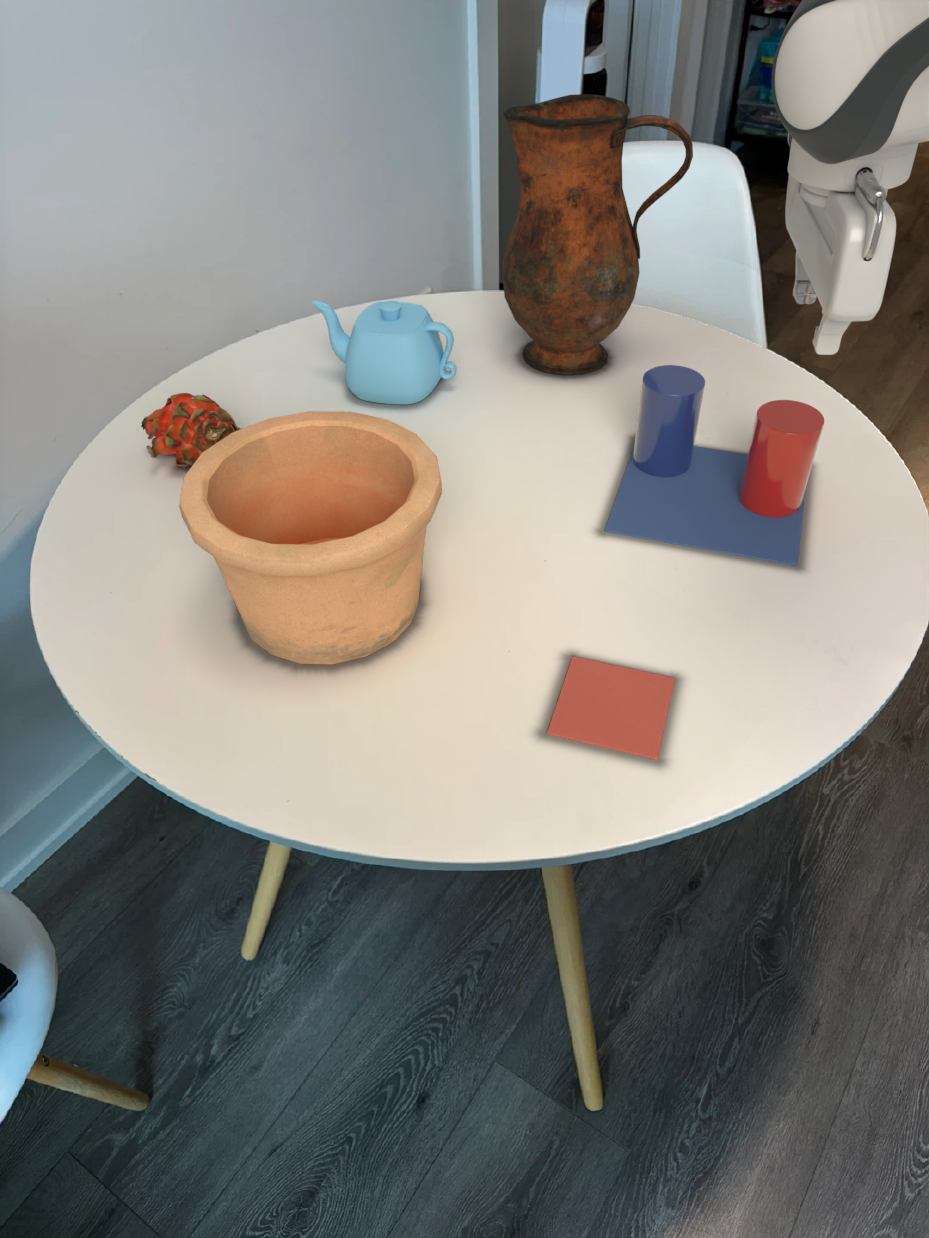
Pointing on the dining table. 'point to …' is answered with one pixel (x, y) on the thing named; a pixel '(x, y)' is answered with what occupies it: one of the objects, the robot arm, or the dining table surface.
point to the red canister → (780, 457)
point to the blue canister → (668, 420)
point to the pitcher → (574, 228)
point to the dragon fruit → (187, 427)
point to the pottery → (317, 529)
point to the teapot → (391, 351)
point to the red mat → (613, 707)
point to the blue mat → (703, 510)
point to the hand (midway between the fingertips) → (813, 325)
